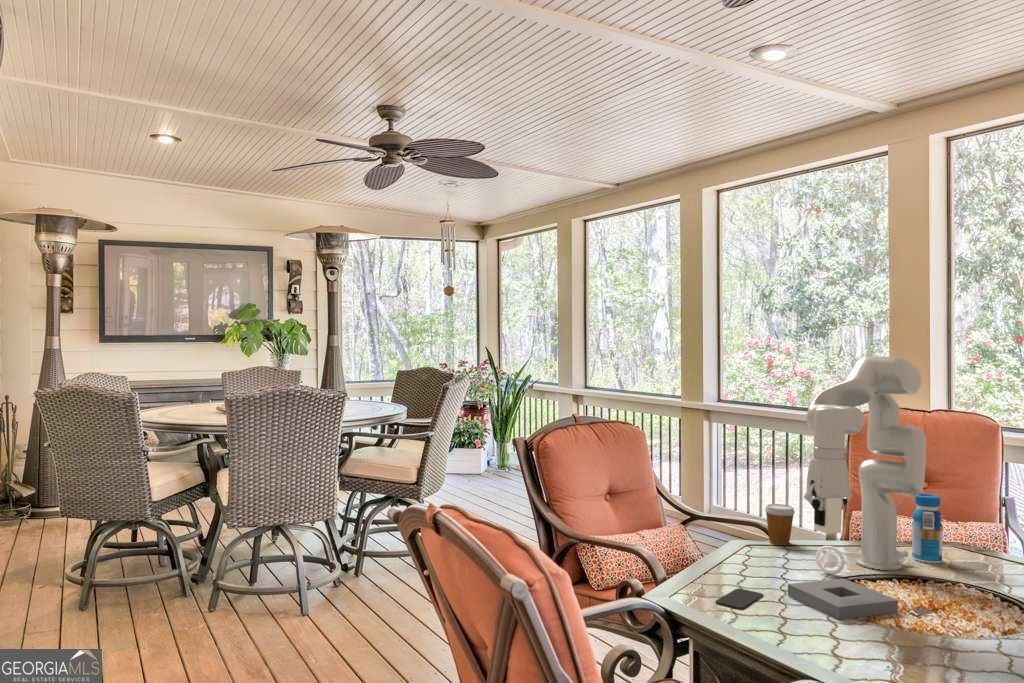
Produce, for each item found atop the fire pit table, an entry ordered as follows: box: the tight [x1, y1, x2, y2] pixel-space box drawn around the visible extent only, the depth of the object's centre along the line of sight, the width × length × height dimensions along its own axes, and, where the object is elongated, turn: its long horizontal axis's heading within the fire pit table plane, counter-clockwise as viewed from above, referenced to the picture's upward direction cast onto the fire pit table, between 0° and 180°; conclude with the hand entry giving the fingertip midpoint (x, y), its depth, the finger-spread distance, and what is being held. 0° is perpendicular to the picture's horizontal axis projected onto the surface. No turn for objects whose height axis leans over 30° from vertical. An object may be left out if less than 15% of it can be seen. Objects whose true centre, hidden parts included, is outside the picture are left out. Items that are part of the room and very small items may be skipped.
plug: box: [814, 498, 842, 534], centre depth 193 cm, size 4×4×10 cm
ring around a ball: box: [815, 545, 846, 575], centre depth 212 cm, size 8×6×8 cm
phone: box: [715, 588, 764, 611], centre depth 189 cm, size 7×1×15 cm
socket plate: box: [787, 578, 899, 621], centre depth 187 cm, size 18×18×3 cm
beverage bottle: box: [911, 493, 944, 564], centre depth 228 cm, size 8×8×20 cm
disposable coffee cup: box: [764, 503, 796, 546], centre depth 247 cm, size 10×10×12 cm
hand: (827, 523), depth 193 cm, fingers closed on plug, 4 cm apart
